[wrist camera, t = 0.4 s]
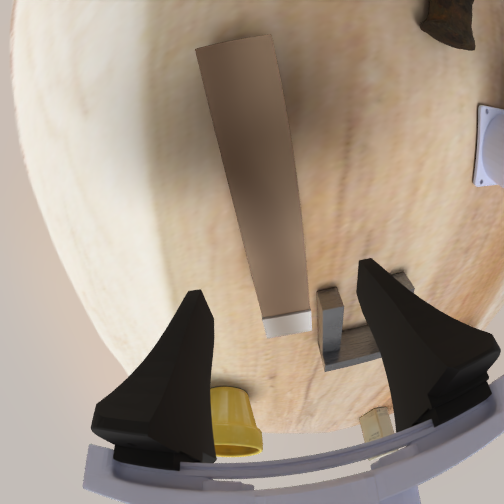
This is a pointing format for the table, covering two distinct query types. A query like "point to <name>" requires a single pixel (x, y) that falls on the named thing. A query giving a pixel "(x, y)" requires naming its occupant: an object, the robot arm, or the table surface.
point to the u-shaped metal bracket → (345, 332)
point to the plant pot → (234, 423)
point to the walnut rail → (260, 174)
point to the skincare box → (376, 427)
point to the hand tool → (450, 23)
